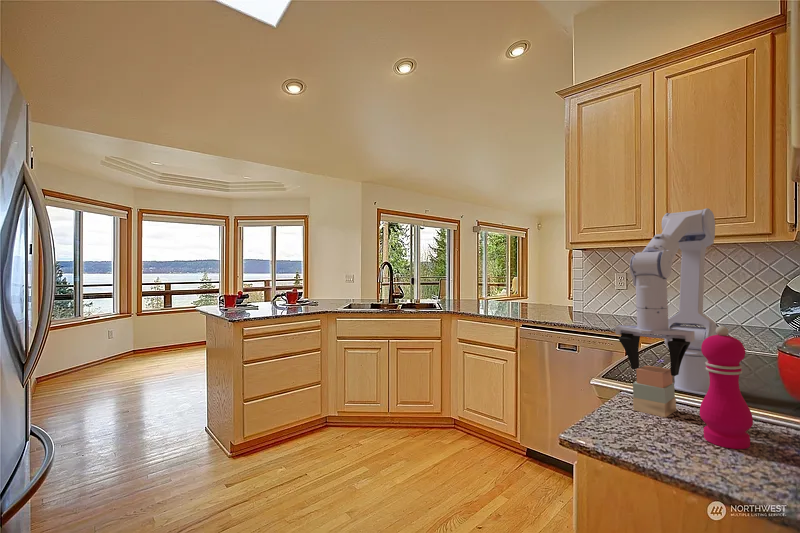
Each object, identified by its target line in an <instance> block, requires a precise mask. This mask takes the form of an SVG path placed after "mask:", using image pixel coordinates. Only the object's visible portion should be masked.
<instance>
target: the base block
mask: <svg viewBox="0 0 800 533" xmlns="http://www.w3.org/2000/svg"><path fill="white" fill-rule="evenodd" d="M632 403H633V404H632V405H633V407H632V408H633V411H635V412H640V413H645V414H647V415H653V416H656V417H657V416H658V417H661V418H667V417H669V416H670V415H672V414H674V413H675V412H676V411H677V402H676V396H675V397H674V398H673V399H671V400H670V401H669V402H667V403H666V404H664V403H659V402H654V401H649V400H644V399H639V398H634V397H633V396H632Z"/></svg>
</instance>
